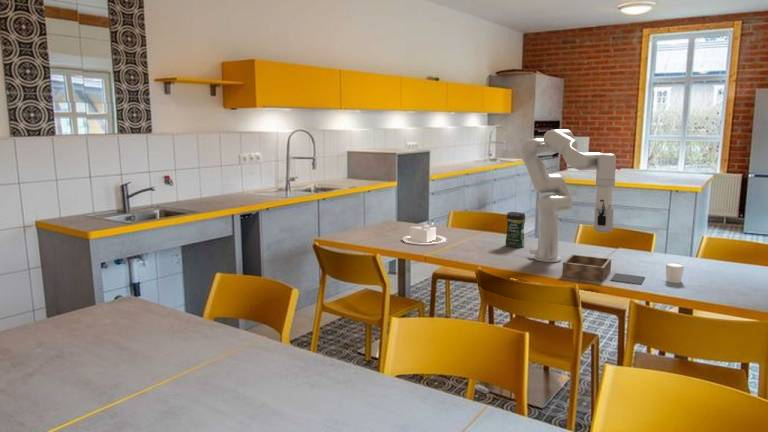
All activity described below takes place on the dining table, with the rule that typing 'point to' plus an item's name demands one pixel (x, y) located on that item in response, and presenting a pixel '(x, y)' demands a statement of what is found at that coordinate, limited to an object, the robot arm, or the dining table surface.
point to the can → (609, 220)
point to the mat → (628, 278)
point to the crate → (587, 267)
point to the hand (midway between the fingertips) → (603, 223)
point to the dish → (424, 235)
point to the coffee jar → (515, 229)
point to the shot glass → (674, 272)
